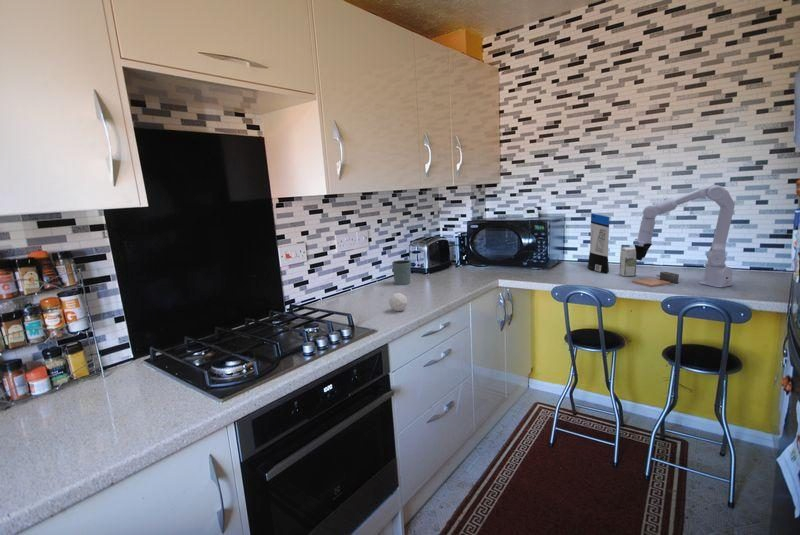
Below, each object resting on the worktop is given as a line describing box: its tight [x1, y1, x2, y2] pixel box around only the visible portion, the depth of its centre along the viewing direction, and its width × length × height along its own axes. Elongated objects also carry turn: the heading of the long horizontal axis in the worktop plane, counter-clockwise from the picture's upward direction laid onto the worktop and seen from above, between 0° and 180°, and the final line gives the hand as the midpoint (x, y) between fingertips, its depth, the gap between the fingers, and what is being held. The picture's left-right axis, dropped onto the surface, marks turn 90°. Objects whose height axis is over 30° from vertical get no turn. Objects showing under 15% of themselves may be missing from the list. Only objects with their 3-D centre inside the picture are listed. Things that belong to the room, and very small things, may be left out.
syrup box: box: [619, 246, 638, 277], centre depth 211 cm, size 6×6×14 cm
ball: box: [388, 292, 408, 312], centre depth 178 cm, size 8×8×8 cm
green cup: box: [391, 259, 412, 286], centre depth 225 cm, size 10×10×12 cm
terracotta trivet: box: [631, 277, 671, 288], centre depth 196 cm, size 11×11×1 cm
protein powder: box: [587, 213, 610, 275], centre depth 227 cm, size 10×24×30 cm, turn 176°
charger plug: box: [655, 271, 680, 285], centre depth 197 cm, size 10×4×4 cm, turn 18°
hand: (640, 258), depth 201 cm, fingers open, 7 cm apart
